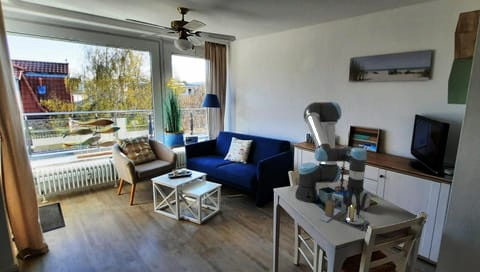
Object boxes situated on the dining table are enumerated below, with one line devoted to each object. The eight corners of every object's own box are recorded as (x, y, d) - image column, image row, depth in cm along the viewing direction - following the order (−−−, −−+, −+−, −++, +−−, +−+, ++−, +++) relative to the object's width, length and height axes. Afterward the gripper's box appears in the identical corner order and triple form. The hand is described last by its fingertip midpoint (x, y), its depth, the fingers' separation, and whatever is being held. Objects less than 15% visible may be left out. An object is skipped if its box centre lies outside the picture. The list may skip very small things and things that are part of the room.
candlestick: (352, 191, 181) (357, 144, 174) (339, 193, 178) (343, 145, 172) (342, 186, 191) (346, 141, 185) (330, 187, 189) (333, 142, 182)
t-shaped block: (330, 224, 138) (331, 208, 136) (315, 218, 144) (316, 203, 143) (347, 210, 153) (348, 196, 152) (333, 205, 160) (334, 192, 158)
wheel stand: (348, 215, 147) (348, 213, 147) (368, 222, 140) (368, 220, 140) (340, 222, 140) (340, 220, 140) (360, 230, 132) (361, 228, 132)
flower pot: (317, 201, 166) (318, 188, 164) (327, 199, 169) (328, 186, 167) (326, 207, 158) (327, 193, 156) (337, 204, 161) (338, 191, 159)
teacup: (371, 211, 152) (372, 199, 151) (352, 210, 154) (353, 197, 153) (365, 201, 165) (366, 190, 164) (347, 200, 168) (348, 188, 166)
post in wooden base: (330, 217, 144) (332, 202, 142) (324, 214, 146) (326, 200, 144) (343, 206, 156) (345, 193, 154) (338, 205, 158) (339, 191, 157)
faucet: (349, 214, 146) (350, 197, 144) (367, 220, 140) (369, 202, 137) (341, 220, 139) (343, 203, 137) (360, 227, 132) (362, 209, 130)
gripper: (338, 175, 135) (334, 215, 139) (369, 183, 124) (364, 226, 128) (344, 172, 140) (340, 211, 144) (374, 179, 129) (370, 221, 133)
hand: (352, 218), depth 136 cm, fingers closed on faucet, 3 cm apart
